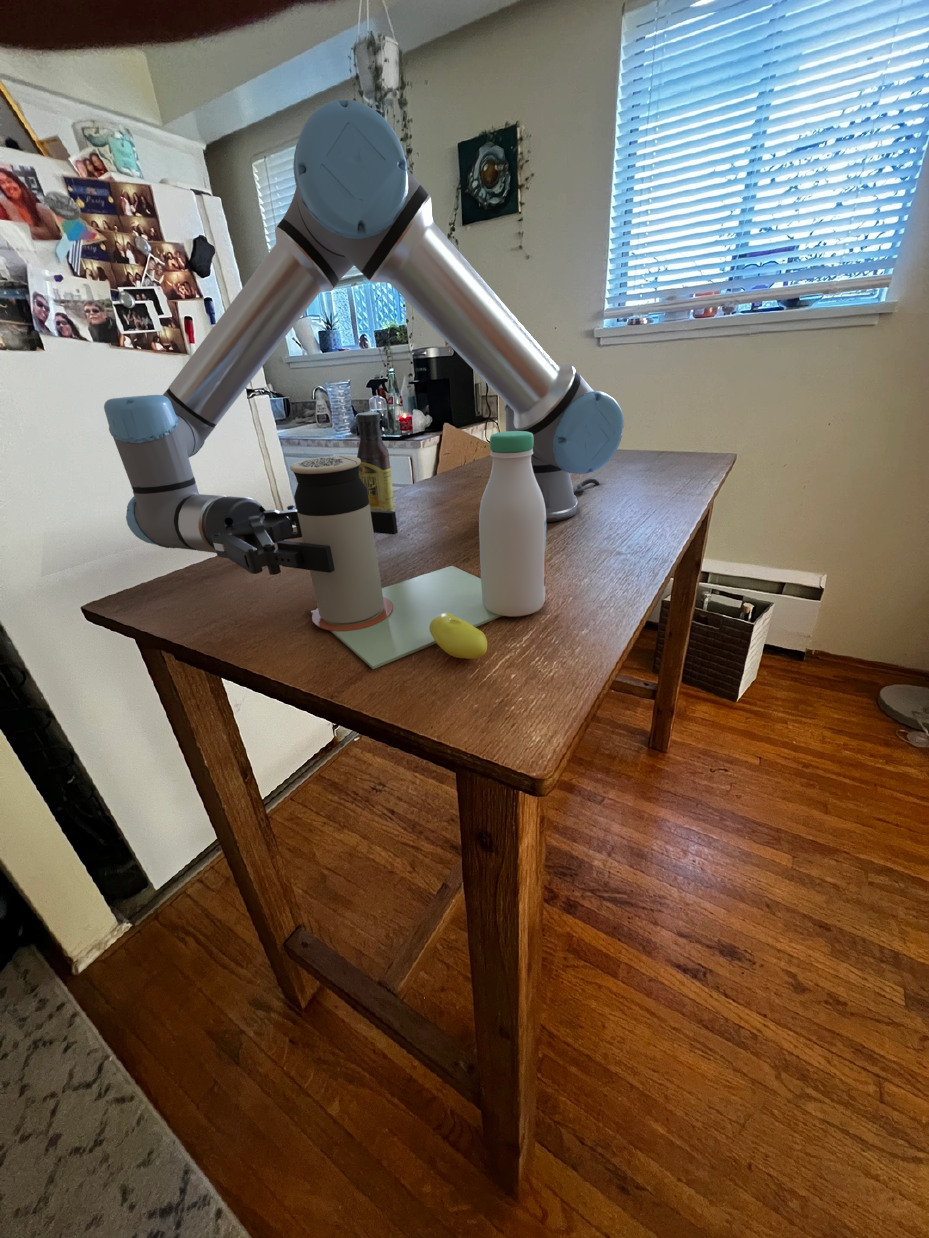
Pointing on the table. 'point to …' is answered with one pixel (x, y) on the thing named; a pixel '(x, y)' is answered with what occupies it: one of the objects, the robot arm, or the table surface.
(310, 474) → the travel mug
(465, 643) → the lemon
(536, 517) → the milk bottle
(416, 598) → the placemat
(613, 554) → the table surface
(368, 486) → the sauce bottle
